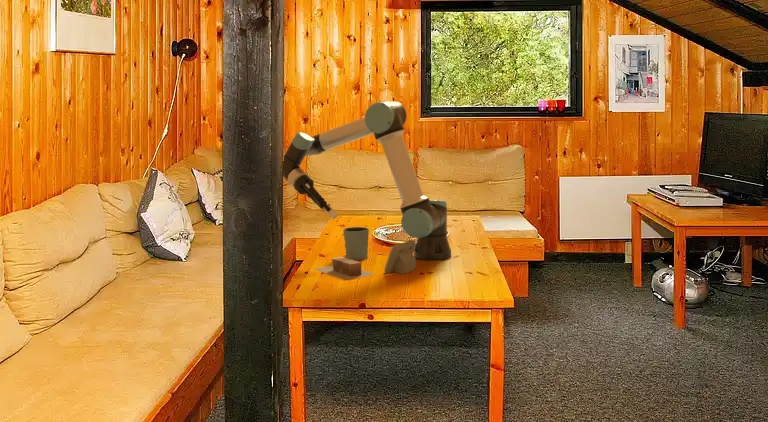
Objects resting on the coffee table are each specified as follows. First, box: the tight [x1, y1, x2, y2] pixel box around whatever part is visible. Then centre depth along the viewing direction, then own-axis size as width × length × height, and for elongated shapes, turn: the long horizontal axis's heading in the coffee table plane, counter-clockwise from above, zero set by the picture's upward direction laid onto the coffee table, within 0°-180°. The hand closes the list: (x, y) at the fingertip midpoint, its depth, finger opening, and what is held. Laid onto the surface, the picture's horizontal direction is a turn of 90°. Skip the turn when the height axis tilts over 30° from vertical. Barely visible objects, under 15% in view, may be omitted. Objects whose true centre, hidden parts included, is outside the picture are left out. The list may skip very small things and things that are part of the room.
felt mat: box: [314, 265, 376, 280], centre depth 299 cm, size 22×13×1 cm, turn 35°
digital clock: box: [384, 239, 417, 275], centre depth 300 cm, size 16×9×11 cm, turn 138°
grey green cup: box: [342, 226, 370, 261], centre depth 323 cm, size 10×10×12 cm
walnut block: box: [331, 256, 362, 277], centre depth 297 cm, size 4×4×13 cm
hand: (335, 216), depth 313 cm, fingers closed
